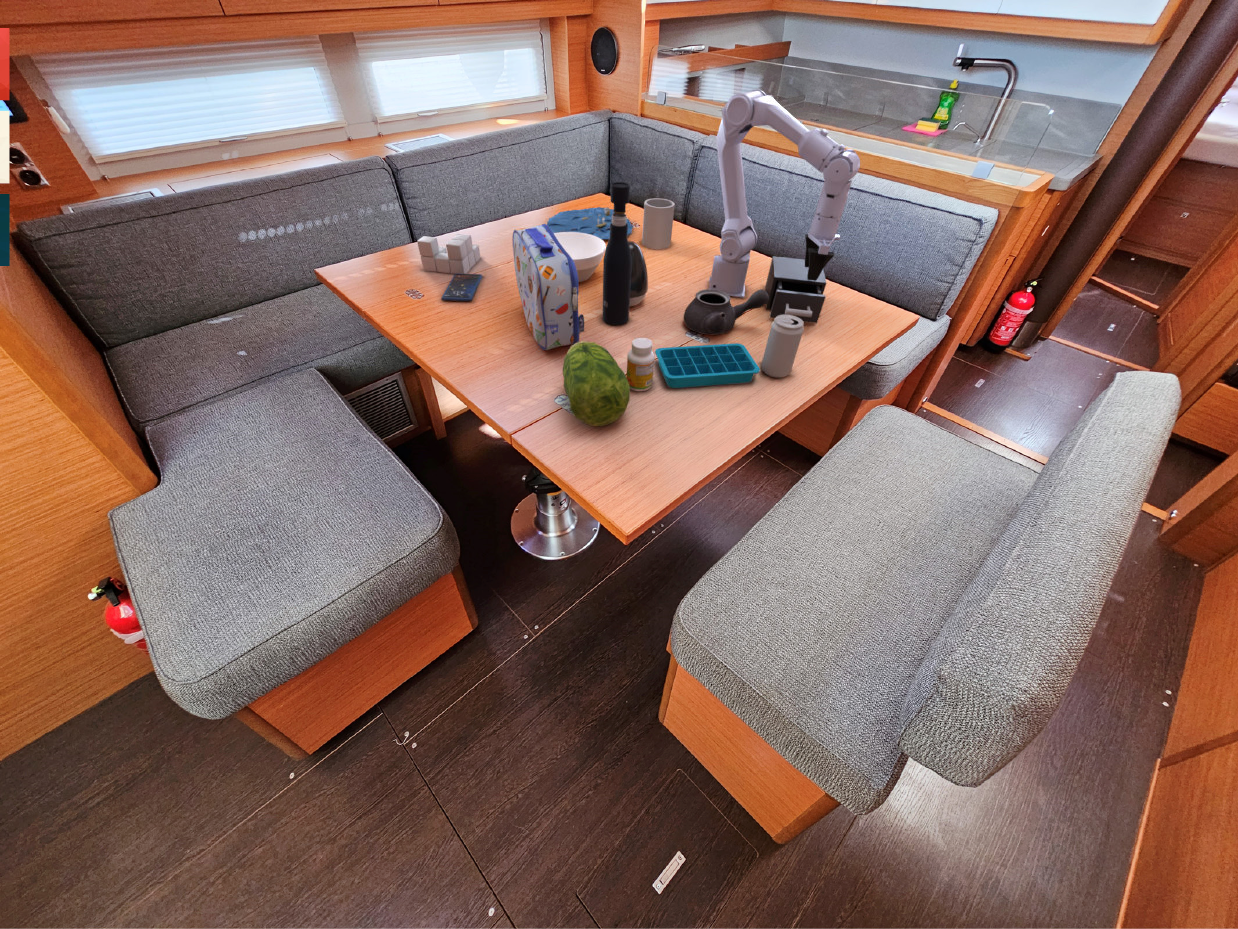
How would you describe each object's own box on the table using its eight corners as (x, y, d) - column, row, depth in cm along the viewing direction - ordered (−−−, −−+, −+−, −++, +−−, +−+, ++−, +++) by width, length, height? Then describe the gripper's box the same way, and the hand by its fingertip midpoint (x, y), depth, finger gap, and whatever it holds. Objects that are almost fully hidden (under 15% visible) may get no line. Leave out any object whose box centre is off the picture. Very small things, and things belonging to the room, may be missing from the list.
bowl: (522, 281, 139) (519, 250, 133) (555, 256, 152) (554, 227, 146) (588, 296, 134) (588, 264, 128) (616, 268, 147) (617, 239, 141)
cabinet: (816, 315, 131) (826, 282, 125) (766, 309, 132) (774, 276, 126) (811, 292, 140) (821, 261, 134) (765, 287, 142) (772, 256, 136)
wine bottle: (632, 316, 127) (640, 182, 106) (623, 327, 122) (630, 191, 102) (607, 311, 128) (611, 178, 107) (598, 322, 124) (600, 186, 103)
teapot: (690, 346, 117) (697, 305, 110) (678, 314, 128) (683, 275, 121) (770, 344, 119) (781, 304, 112) (750, 313, 130) (759, 274, 123)
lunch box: (590, 356, 113) (590, 255, 98) (544, 364, 110) (537, 261, 94) (554, 301, 131) (549, 209, 116) (514, 307, 128) (503, 213, 113)
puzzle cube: (480, 258, 149) (476, 229, 143) (464, 275, 140) (459, 245, 135) (441, 254, 150) (436, 225, 145) (423, 270, 141) (416, 240, 136)
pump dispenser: (614, 290, 137) (616, 231, 126) (651, 297, 135) (656, 237, 124) (600, 306, 130) (601, 245, 119) (639, 314, 128) (644, 252, 117)
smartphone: (482, 273, 139) (470, 298, 128) (482, 276, 140) (471, 301, 129) (454, 272, 139) (440, 297, 128) (454, 275, 139) (441, 300, 128)
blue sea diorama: (603, 256, 157) (603, 238, 153) (527, 232, 167) (526, 215, 164) (652, 225, 174) (653, 209, 170) (581, 205, 185) (580, 190, 181)
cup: (671, 249, 159) (675, 208, 151) (642, 248, 159) (644, 207, 150) (669, 239, 165) (673, 199, 157) (641, 237, 165) (644, 197, 157)
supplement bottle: (624, 377, 107) (626, 335, 100) (650, 376, 108) (654, 335, 101) (627, 392, 103) (629, 350, 97) (653, 391, 104) (657, 349, 97)
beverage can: (790, 381, 108) (806, 330, 100) (759, 377, 109) (773, 325, 101) (789, 365, 113) (804, 315, 105) (759, 361, 114) (773, 311, 105)
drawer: (818, 331, 123) (827, 305, 118) (770, 325, 124) (777, 299, 119) (812, 300, 135) (820, 275, 130) (768, 295, 136) (775, 270, 131)
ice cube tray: (758, 384, 107) (762, 372, 105) (665, 391, 104) (666, 378, 102) (739, 354, 115) (742, 342, 113) (652, 360, 112) (653, 348, 110)
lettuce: (606, 368, 109) (607, 320, 101) (635, 429, 95) (638, 378, 87) (553, 375, 107) (550, 326, 99) (574, 438, 92) (572, 386, 85)
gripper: (851, 226, 109) (830, 287, 119) (842, 205, 120) (823, 263, 129) (817, 223, 110) (799, 284, 119) (811, 202, 121) (795, 260, 130)
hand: (810, 273), depth 124 cm, fingers open, 7 cm apart
